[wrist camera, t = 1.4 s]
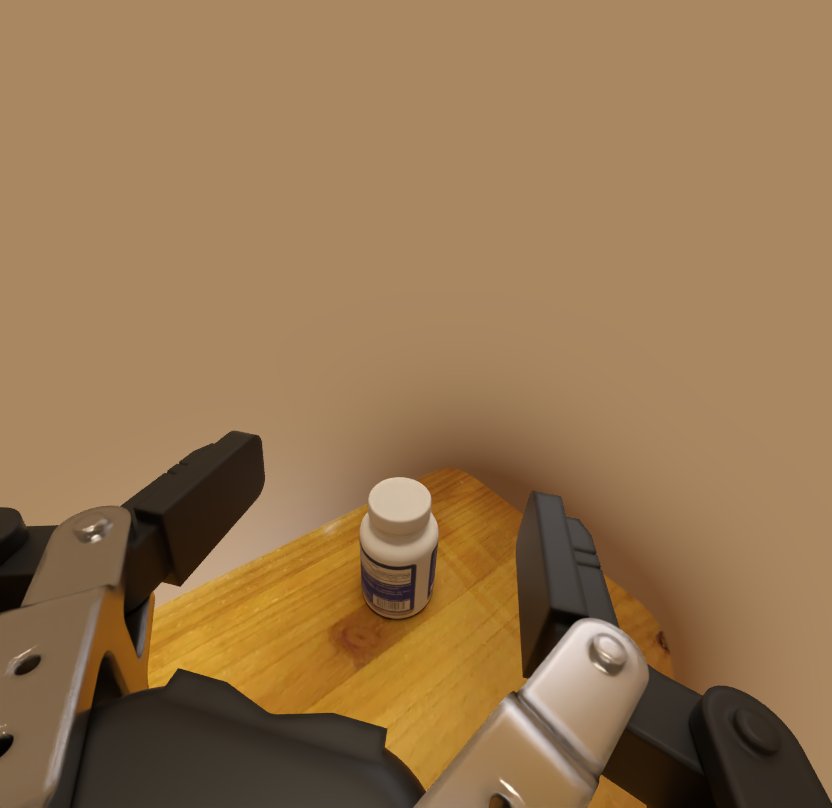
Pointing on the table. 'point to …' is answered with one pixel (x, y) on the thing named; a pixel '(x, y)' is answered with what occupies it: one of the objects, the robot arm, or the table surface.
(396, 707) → the table surface
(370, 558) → the pill bottle
